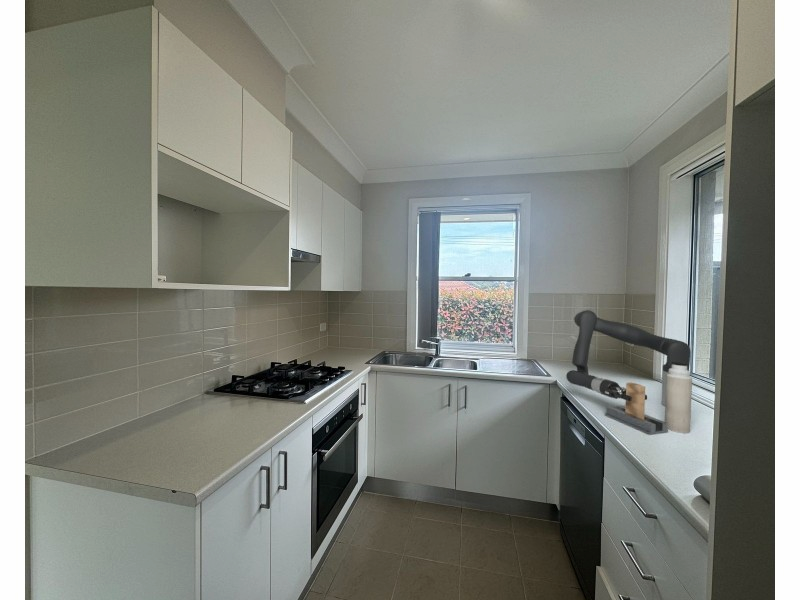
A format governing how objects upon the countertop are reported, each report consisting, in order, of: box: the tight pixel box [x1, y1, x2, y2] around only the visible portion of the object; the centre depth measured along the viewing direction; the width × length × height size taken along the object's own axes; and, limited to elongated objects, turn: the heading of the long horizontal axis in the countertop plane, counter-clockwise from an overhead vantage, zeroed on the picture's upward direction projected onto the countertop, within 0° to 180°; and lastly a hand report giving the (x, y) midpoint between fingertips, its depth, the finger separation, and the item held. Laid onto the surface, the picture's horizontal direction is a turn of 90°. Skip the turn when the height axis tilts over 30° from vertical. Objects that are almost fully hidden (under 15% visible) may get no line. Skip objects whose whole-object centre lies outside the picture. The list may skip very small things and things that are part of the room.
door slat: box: [624, 381, 646, 420], centre depth 135 cm, size 6×3×16 cm, turn 15°
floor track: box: [604, 404, 669, 436], centre depth 135 cm, size 20×10×4 cm, turn 15°
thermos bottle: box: [664, 361, 693, 434], centre depth 130 cm, size 8×8×28 cm
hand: (638, 398), depth 133 cm, fingers open, 8 cm apart
